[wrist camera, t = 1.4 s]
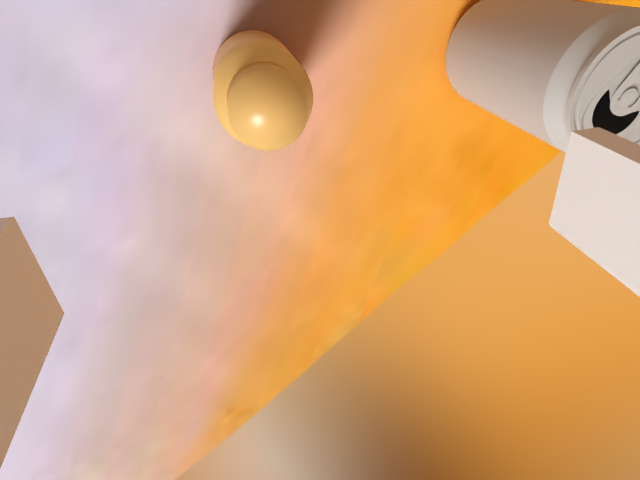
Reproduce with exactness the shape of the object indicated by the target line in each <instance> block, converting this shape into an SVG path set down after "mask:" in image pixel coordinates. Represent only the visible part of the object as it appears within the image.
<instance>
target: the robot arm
mask: <svg viewBox="0 0 640 480" xmlns="http://www.w3.org/2000/svg"><path fill="white" fill-rule="evenodd" d="M549 226H551V227H552V228H554V230H556V231H557V232H558V233H560V234H561V235H562V236H563V237H565V238H566V239H567V240H569V241H570V242H571V243H572V244H573V245H575V246H576V247H577V248H579V249H580V250H581V251H582V252H584V253H585V254H586V255H587V256H589V257H590V258H591V259H593V260H594V261H595V262H596V263H598V264H599V265H600V266H601V267H603V268H604V269H605V270H606V271H608V272H609V273H610V274H611V275H613V276H614V277H615V278H617V279H618V280H619V281H620V282H622V283H623V284H624V285H626V286H627V287H628V288H629V289H631V290H632V291H633V292H634V293H636V294H637V295H638V296H639V297H640V145H639V144H636V143H634V142H632V141H630V140H627V139H625V138H623V137H620V136H618V135H616V134H613V133H611V132H609V131H607V130H604V129H602V128H600V127H596V128H590V129H583V130H577V131H572V132H571V136H570V140H569V144H568V148H567V152H566V156H565V160H564V165H563V168H562V173H561V177H560V181H559V185H558V189H557V193H556V197H555V201H554V205H553V209H552V213H551V217H550V222H549ZM63 315H64V312H63V310H62V308H61V306H60V304H59V302H58V301H57V299H56V297H55V295H54V293H53V291H52V289H51V287H50V285H49V283H48V281H47V279H46V277H45V276H44V274H43V272H42V270H41V268H40V266H39V264H38V262H37V260H36V258H35V256H34V254H33V252H32V250H31V249H30V247H29V245H28V243H27V241H26V239H25V237H24V235H23V233H22V231H21V229H20V227H19V225H18V223H17V222H16V220H15V218H14V217H8V218H2V219H0V468H1V465H2V463H3V460H4V458H5V455H6V453H7V451H8V448H9V446H10V443H11V441H12V439H13V436H14V434H15V431H16V429H17V426H18V424H19V422H20V419H21V417H22V414H23V412H24V409H25V407H26V405H27V402H28V400H29V397H30V395H31V392H32V390H33V388H34V385H35V383H36V380H37V378H38V375H39V373H40V371H41V368H42V366H43V363H44V361H45V358H46V356H47V354H48V351H49V349H50V346H51V344H52V342H53V339H54V337H55V334H56V332H57V329H58V327H59V325H60V322H61V320H62V317H63Z"/></svg>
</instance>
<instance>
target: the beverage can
mask: <svg viewBox="0 0 640 480" xmlns="http://www.w3.org/2000/svg"><path fill="white" fill-rule="evenodd" d="M445 65H446V72H447V76H448V78H449V81H450V83H451V85H452V87H453V88H454V90H455V91H456V92H457V93H458V94H459V95H460V96H462V97H463V98H465V99H467V100H469V101H470V102H472V103H474V104H476V105H478V106H480V107H481V108H483V109H485V110H487V111H489V112H491V113H493V114H494V115H496V116H498V117H500V118H502V119H504V120H506V121H507V122H509V123H511V124H513V125H515V126H517V127H519V128H520V129H522V130H524V131H526V132H528V133H530V134H531V135H533V136H535V137H537V138H539V139H541V140H543V141H544V142H546V143H548V144H550V145H552V146H554V147H556V148H557V149H559V150H561V151H563V152H565V153H566V152H567V148H568V144H569V140H570V136H571V132H572V131H577V130H583V129H590V128H596V127H600V128H602V129H604V130H607V131H609V132H611V133H613V134H616V135H618V136H620V137H623V138H625V139H627V140H630V141H632V142H634V143H636V144H639V145H640V8H638V7H629V6H620V5H611V4H602V3H592V2H583V1H574V0H481V1H479V2H478V3H476V4H475V5H473V6H472V7H471V8H470V9H469V10H468V11H467V12H466V13H465V14H464V15H463V16H462V17H461V19H460V20H459V21H458V23H457V24H456V26H455V28H454V30H453V32H452V34H451V36H450V39H449V42H448V45H447V50H446V60H445Z"/></svg>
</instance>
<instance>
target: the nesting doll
mask: <svg viewBox="0 0 640 480" xmlns="http://www.w3.org/2000/svg"><path fill="white" fill-rule="evenodd" d="M213 86H214V105H215V110H216V113H217V116H218V118H219V120H220V122H221V124H222V125H223V127H224V128H225V129H226V131H227V132H228V133H229V134H230V135H231V136H233V137H234V138H235V139H237V140H238V141H240V142H242V143H244V144H246V145H249V146H251V147H253V148H256V149H259V150H266V151H271V150H278V149H281V148H284V147H286V146H288V145H290V144H291V143H293V142H294V141H295V140H296V139H297V138H298V137H299V136H300V134H301V133H302V132H303V130H304V128H305V125H306V123H307V121H308V119H309V117H310V114H311V110H312V105H313V92H312V86H311V83H310V80H309V78H308V75H307V74H306V72H305V70H304V69H303V67H302V66H301V65H300V64H299V62H298V61H297V60H296V59H295V58H294V56H293V55H292V54H291V53H290V52H289V51H288V49H287V48H286V47H285V46H284V45H283V44H282V43H281V42H280V40H278V39H277V38H276V37H274V36H273V35H271V34H269V33H266V32H263V31H260V30H245V31H241V32H238V33H236V34H234V35H232V36H231V37H229V38H228V39H227V40H226V41H225V42H224V43H223V44H222V45H221V46H220V48H219V50H218V52H217V54H216V56H215V60H214V65H213Z"/></svg>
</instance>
